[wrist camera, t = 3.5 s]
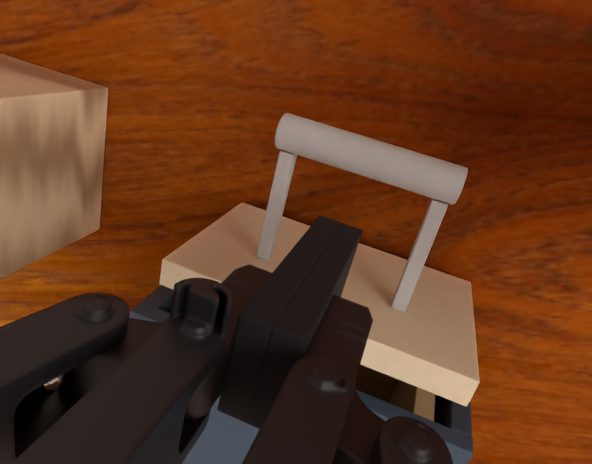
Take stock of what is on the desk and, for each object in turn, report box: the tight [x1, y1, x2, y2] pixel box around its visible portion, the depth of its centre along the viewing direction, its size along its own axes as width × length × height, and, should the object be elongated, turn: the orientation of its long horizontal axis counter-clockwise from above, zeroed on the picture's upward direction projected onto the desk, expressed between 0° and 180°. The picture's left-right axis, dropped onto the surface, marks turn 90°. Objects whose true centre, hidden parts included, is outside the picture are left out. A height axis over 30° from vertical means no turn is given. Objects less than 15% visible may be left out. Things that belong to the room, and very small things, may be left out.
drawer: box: [159, 113, 480, 421], centre depth 22 cm, size 21×12×8 cm, turn 166°
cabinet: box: [129, 285, 473, 464], centre depth 25 cm, size 16×14×10 cm
